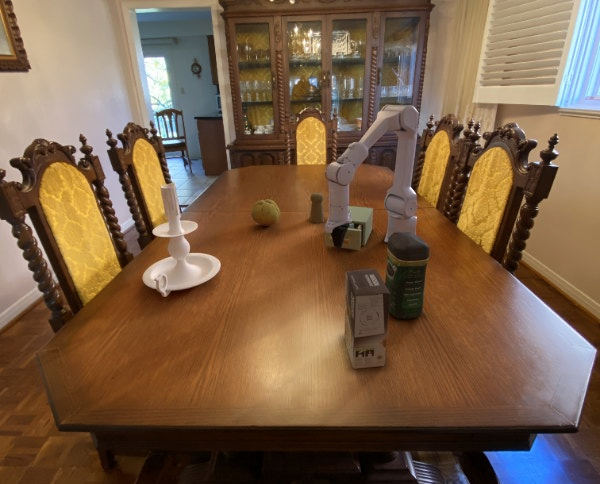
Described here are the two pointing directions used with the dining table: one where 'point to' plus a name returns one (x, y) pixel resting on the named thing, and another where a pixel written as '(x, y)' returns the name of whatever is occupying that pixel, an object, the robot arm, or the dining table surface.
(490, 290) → the dining table surface
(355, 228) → the drawer
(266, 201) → the fruit
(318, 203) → the cork
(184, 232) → the candlestick
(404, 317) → the coffee jar
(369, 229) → the cabinet
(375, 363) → the coffee box
